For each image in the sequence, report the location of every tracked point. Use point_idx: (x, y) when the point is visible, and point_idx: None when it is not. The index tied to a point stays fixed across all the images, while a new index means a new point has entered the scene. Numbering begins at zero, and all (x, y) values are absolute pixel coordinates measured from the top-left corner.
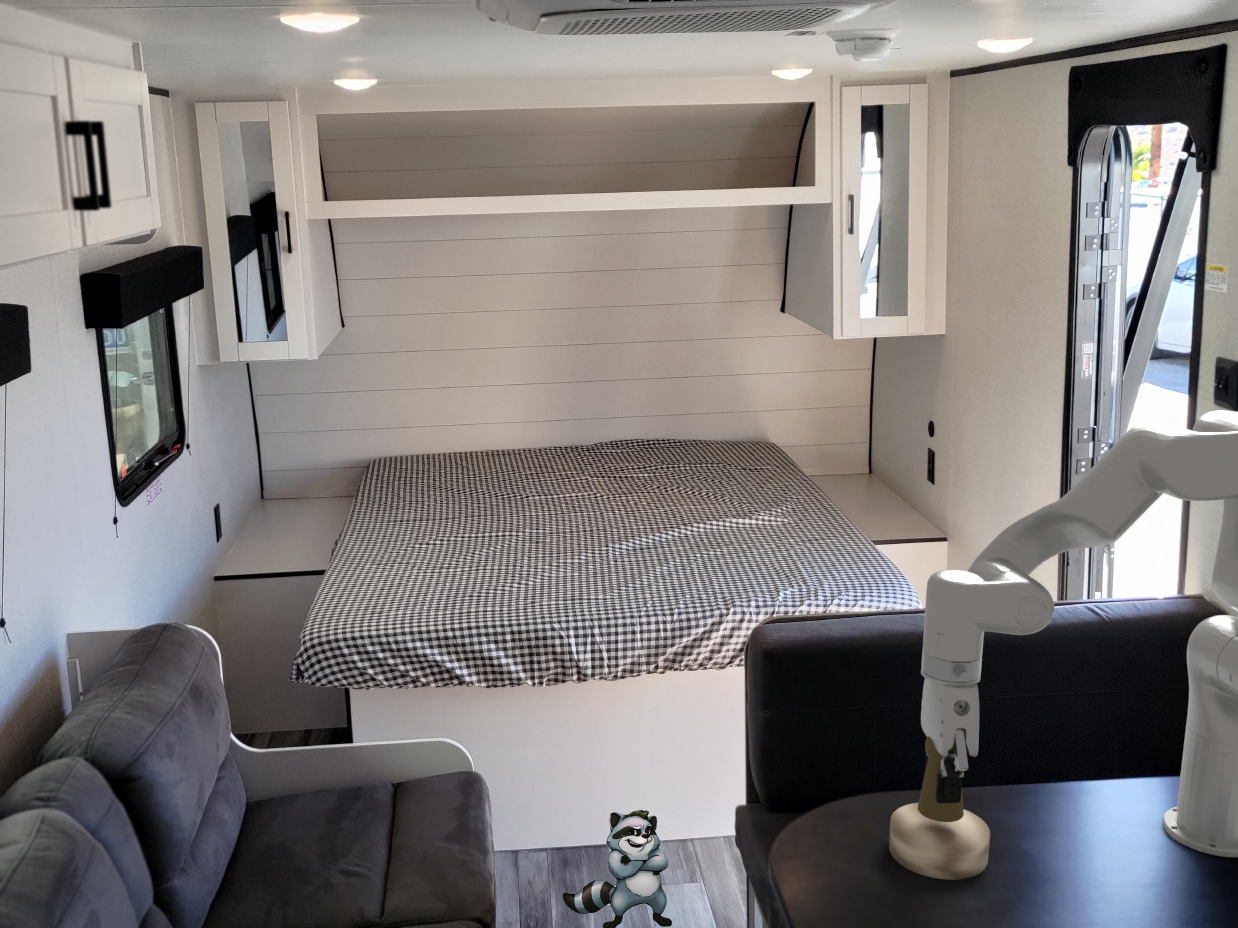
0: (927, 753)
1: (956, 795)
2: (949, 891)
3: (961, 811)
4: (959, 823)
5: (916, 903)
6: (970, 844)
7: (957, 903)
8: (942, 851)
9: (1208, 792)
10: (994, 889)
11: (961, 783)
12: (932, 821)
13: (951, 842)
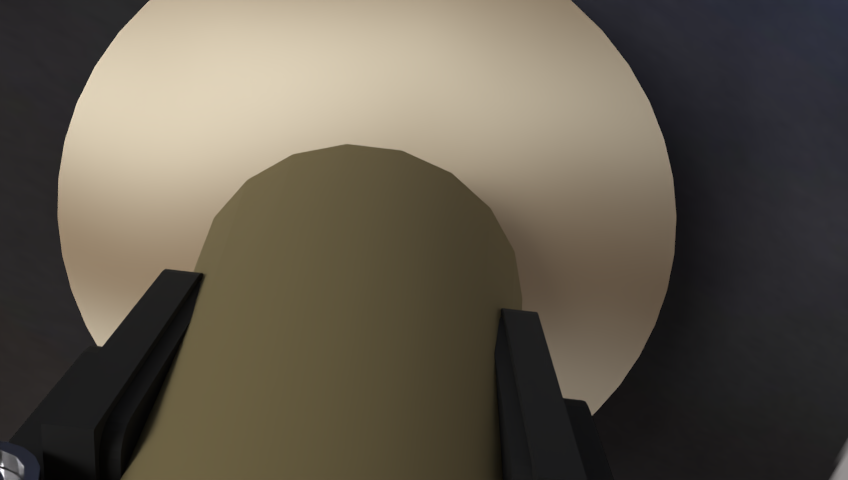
0: None
1: (585, 412)
2: (704, 286)
3: (487, 228)
4: (354, 116)
5: (739, 446)
6: (617, 169)
7: (800, 293)
8: (638, 355)
9: None
10: (760, 67)
11: (565, 415)
12: None
13: (564, 269)
